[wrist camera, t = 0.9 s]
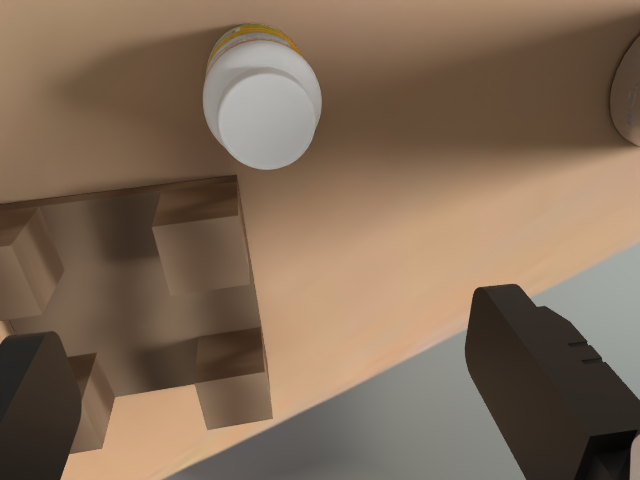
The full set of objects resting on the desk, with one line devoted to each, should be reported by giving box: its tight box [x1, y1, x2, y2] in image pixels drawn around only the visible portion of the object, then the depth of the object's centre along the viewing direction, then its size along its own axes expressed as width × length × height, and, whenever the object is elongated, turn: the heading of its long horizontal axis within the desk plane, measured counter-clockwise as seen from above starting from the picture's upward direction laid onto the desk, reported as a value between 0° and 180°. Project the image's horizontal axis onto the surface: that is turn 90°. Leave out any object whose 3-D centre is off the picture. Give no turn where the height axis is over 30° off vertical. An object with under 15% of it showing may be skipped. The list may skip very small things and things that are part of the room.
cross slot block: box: [0, 175, 273, 454], centre depth 32 cm, size 16×16×6 cm
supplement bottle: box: [203, 23, 322, 170], centre depth 24 cm, size 5×5×10 cm
